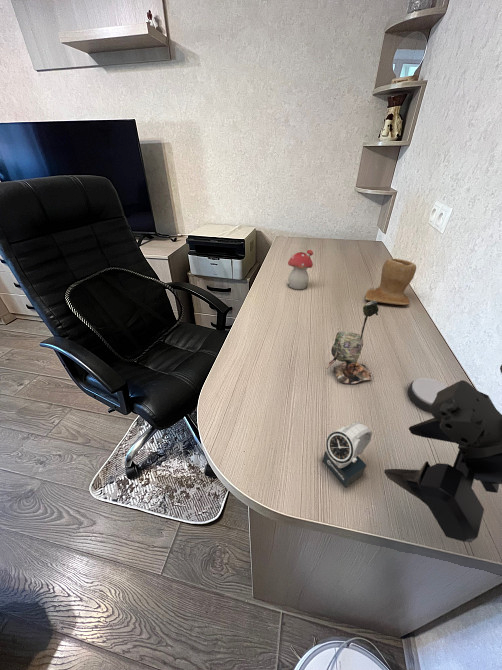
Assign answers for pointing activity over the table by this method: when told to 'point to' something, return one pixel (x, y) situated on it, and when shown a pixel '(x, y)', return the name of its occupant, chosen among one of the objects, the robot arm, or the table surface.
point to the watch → (347, 452)
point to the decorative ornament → (300, 269)
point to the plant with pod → (351, 351)
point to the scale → (424, 392)
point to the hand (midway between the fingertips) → (399, 450)
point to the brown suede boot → (393, 282)
